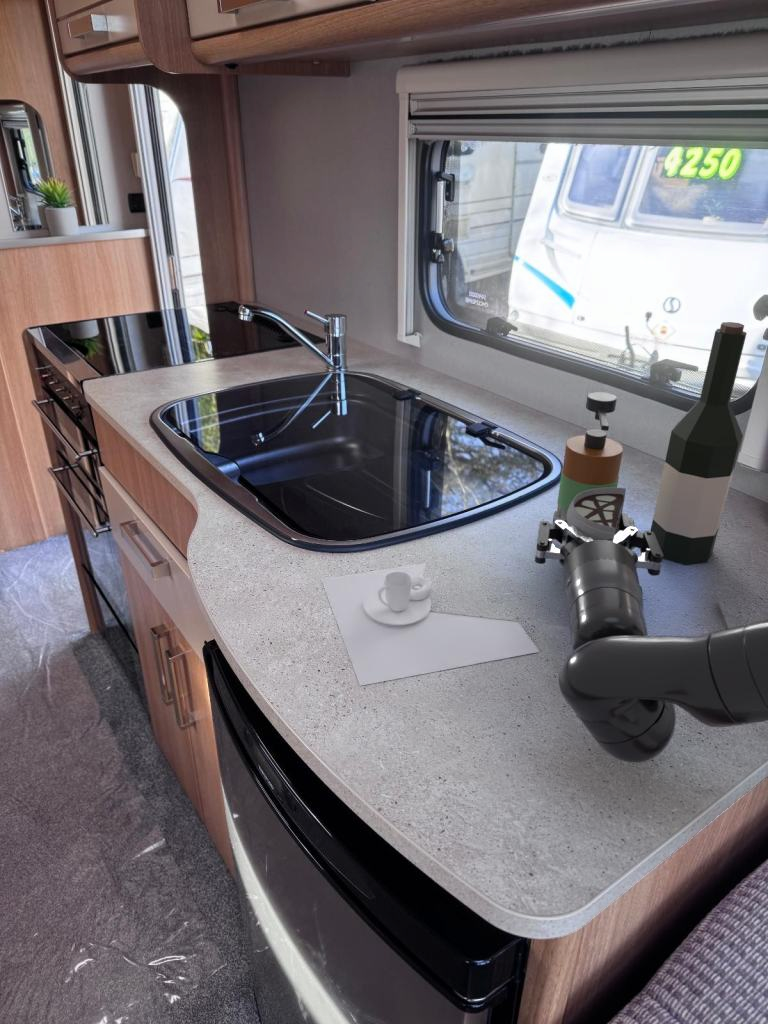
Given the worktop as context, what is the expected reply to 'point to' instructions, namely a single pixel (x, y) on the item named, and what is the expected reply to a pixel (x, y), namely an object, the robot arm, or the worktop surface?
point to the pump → (601, 406)
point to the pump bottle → (588, 465)
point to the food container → (597, 512)
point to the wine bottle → (701, 459)
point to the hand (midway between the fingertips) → (592, 517)
